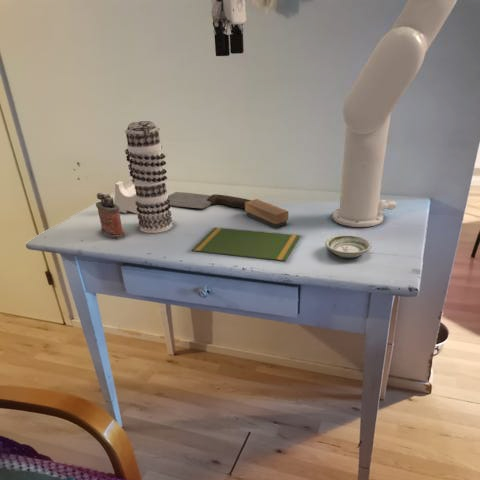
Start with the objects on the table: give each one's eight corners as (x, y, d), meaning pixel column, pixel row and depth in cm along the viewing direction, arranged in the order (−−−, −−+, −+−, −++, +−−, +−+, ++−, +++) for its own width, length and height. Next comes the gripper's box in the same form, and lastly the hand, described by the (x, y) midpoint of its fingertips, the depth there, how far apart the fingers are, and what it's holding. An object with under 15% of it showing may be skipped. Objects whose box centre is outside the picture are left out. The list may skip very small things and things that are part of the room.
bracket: (137, 216, 126) (140, 191, 122) (114, 209, 127) (115, 183, 122) (154, 201, 137) (157, 177, 132) (132, 195, 137) (134, 171, 133)
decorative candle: (134, 224, 119) (116, 122, 105) (168, 218, 122) (155, 118, 108) (143, 236, 112) (124, 128, 98) (178, 229, 115) (165, 123, 101)
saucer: (376, 261, 94) (377, 250, 93) (331, 264, 94) (332, 254, 93) (361, 243, 103) (363, 233, 101) (320, 246, 102) (320, 236, 101)
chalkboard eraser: (257, 211, 123) (256, 198, 121) (288, 225, 114) (288, 211, 112) (245, 215, 121) (244, 202, 119) (276, 228, 112) (276, 214, 110)
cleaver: (260, 205, 127) (259, 198, 126) (244, 216, 120) (243, 209, 118) (174, 195, 139) (173, 188, 138) (155, 205, 132) (154, 197, 131)
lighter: (127, 236, 112) (120, 196, 107) (115, 240, 110) (107, 200, 105) (110, 228, 117) (102, 190, 112) (98, 232, 115) (90, 193, 110)
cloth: (300, 236, 107) (300, 235, 107) (285, 261, 96) (285, 260, 96) (214, 228, 114) (214, 227, 114) (191, 251, 103) (191, 249, 103)
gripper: (228, -46, 87) (232, 56, 97) (254, -37, 101) (256, 52, 110) (193, -42, 90) (200, 57, 99) (223, -34, 103) (227, 53, 113)
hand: (230, 54), depth 105 cm, fingers open, 9 cm apart
